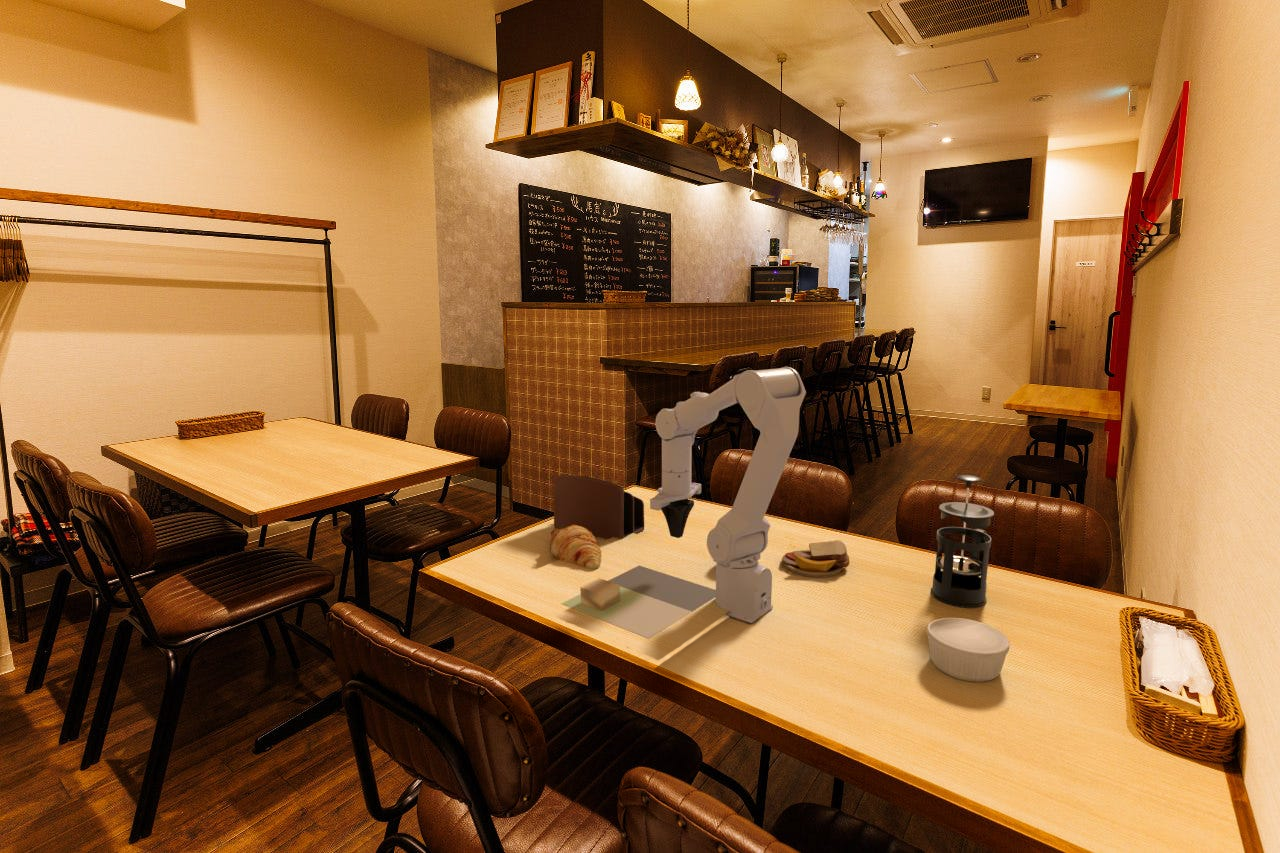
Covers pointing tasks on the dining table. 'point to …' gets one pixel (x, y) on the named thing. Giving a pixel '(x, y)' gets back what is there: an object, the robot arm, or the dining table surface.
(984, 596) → the french press
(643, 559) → the dining table surface
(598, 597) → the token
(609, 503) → the letter holder
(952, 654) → the ramekin
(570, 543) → the croissant
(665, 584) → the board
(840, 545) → the toy sandwich meal
